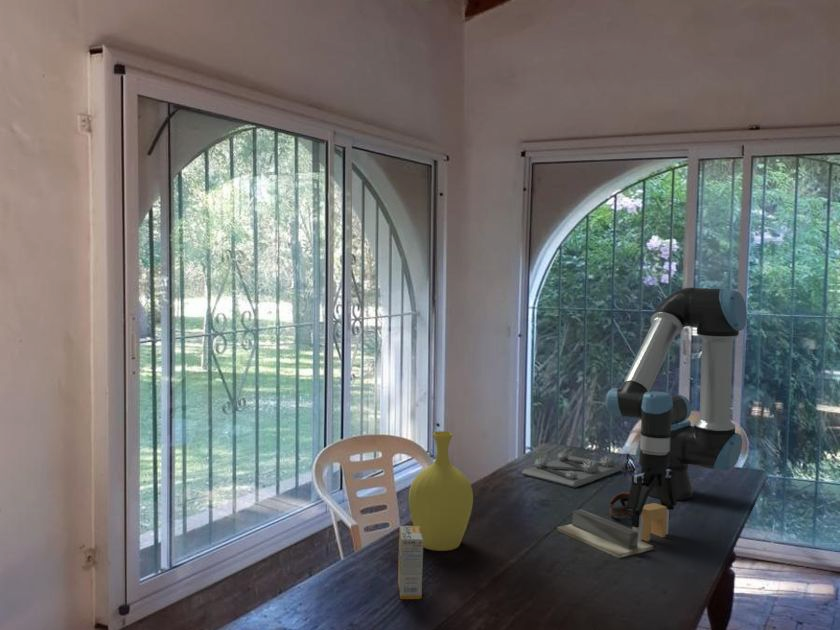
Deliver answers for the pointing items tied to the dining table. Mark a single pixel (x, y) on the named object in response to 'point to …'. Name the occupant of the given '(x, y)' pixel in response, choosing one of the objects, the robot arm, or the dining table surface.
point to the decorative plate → (571, 470)
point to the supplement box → (410, 562)
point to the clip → (653, 520)
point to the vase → (441, 500)
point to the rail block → (604, 534)
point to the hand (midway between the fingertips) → (650, 535)
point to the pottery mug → (619, 510)
